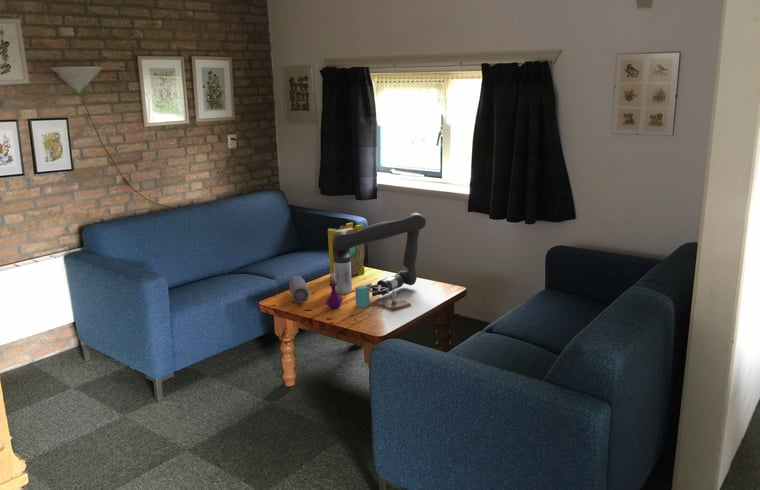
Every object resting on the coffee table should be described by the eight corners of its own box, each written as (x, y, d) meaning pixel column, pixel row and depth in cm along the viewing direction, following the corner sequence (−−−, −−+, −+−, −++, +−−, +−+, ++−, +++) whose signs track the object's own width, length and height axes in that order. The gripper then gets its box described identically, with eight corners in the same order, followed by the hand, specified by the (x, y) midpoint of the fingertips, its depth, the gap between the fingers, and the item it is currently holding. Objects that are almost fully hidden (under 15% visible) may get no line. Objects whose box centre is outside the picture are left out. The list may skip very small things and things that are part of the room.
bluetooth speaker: (310, 304, 341) (309, 286, 339) (292, 306, 340) (291, 287, 337) (306, 291, 363) (305, 274, 360) (289, 292, 361) (288, 275, 359)
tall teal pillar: (355, 306, 337) (355, 287, 334) (362, 303, 340) (361, 285, 338) (362, 308, 333) (362, 289, 331) (369, 305, 337) (369, 286, 334)
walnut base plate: (377, 305, 336) (377, 290, 335) (396, 300, 344) (395, 285, 342) (392, 311, 327) (392, 296, 325) (410, 305, 334) (410, 291, 332)
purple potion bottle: (339, 310, 332) (338, 276, 327) (325, 309, 333) (323, 275, 329) (343, 305, 339) (342, 271, 334) (329, 304, 340) (327, 271, 336)
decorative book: (339, 280, 379) (337, 230, 372) (328, 276, 388) (325, 227, 380) (366, 273, 392) (364, 224, 385) (354, 269, 400) (352, 221, 393)
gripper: (377, 276, 353) (356, 283, 341) (397, 280, 344) (376, 288, 332) (377, 289, 355) (356, 297, 343) (397, 294, 345) (377, 302, 334)
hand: (366, 292), depth 338 cm, fingers open, 8 cm apart
